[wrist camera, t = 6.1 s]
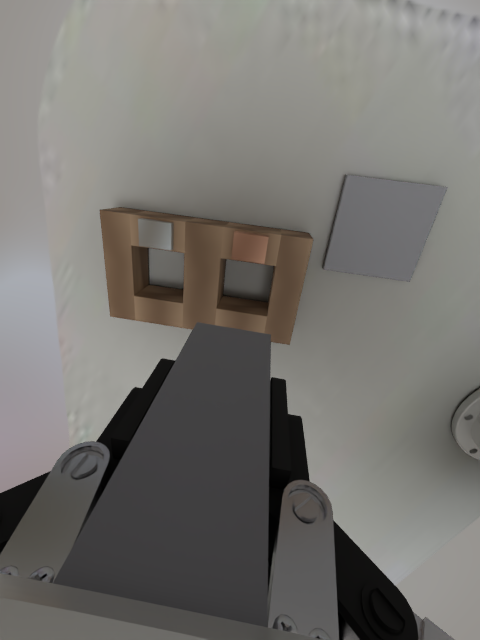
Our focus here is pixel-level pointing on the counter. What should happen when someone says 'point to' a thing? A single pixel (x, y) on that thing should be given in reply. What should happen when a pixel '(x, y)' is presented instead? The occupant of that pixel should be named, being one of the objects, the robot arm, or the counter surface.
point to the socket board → (202, 271)
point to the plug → (191, 489)
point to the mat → (381, 227)
